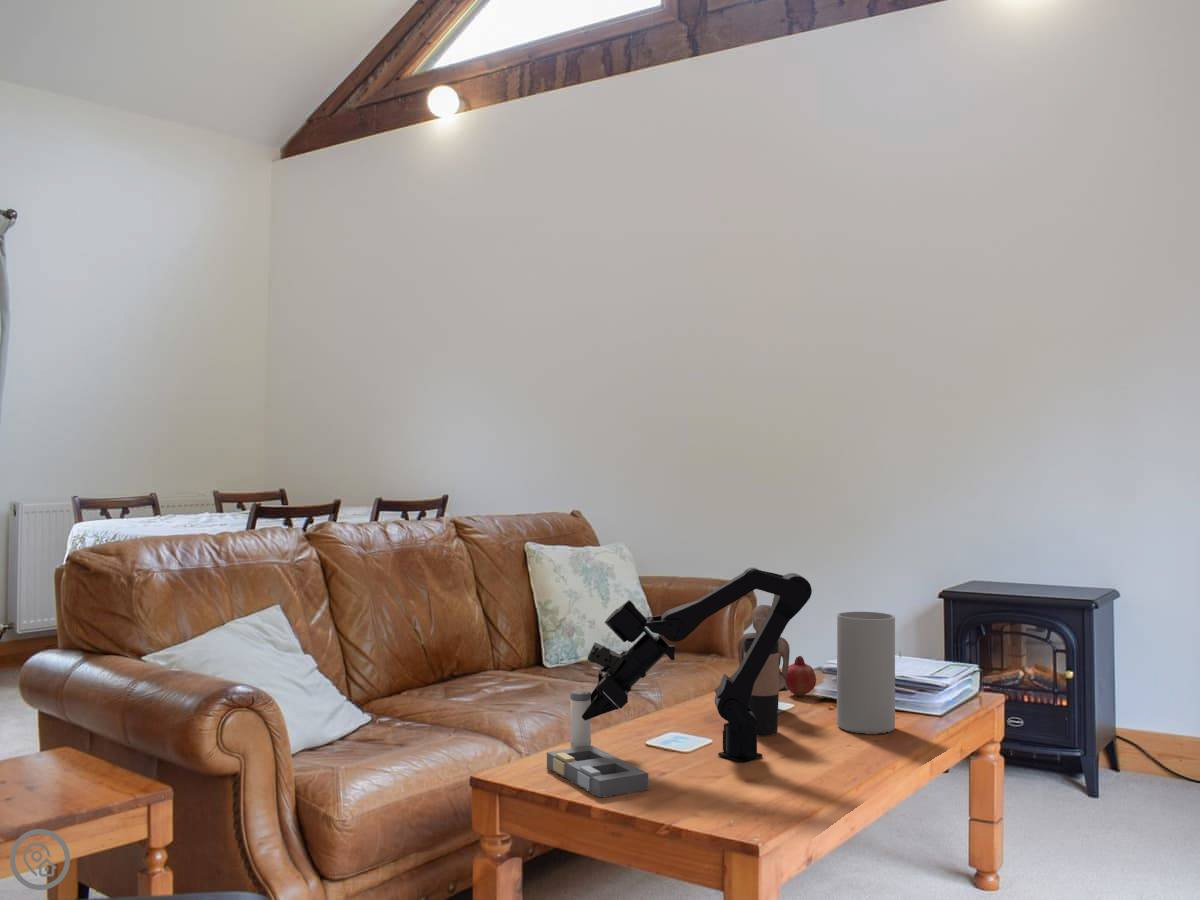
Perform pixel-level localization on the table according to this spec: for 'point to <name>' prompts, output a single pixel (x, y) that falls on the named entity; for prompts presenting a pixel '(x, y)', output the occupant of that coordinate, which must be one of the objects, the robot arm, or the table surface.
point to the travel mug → (765, 693)
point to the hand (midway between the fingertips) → (584, 713)
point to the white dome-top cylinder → (580, 719)
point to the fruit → (800, 677)
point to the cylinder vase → (866, 672)
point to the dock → (597, 771)
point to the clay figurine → (783, 646)
